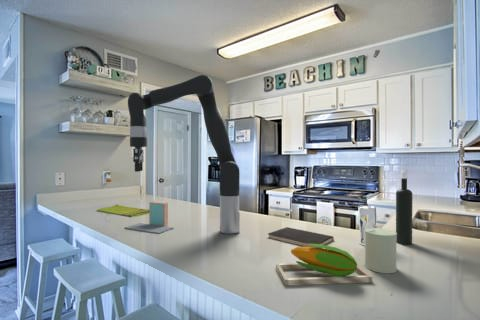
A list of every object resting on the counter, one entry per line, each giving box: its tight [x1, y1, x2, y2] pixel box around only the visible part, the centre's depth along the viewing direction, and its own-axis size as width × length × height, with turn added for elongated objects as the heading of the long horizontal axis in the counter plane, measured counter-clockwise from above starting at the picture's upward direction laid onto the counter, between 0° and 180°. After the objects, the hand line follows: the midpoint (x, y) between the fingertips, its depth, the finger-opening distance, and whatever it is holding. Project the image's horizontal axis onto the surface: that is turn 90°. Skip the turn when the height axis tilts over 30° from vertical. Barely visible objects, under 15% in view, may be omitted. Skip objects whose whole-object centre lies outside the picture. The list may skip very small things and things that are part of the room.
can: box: [363, 227, 398, 274], centre depth 85 cm, size 9×9×12 cm
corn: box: [290, 243, 358, 277], centre depth 80 cm, size 7×8×20 cm
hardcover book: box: [267, 226, 335, 248], centre depth 116 cm, size 16×23×2 cm
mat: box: [124, 222, 174, 235], centre depth 132 cm, size 22×10×1 cm, turn 65°
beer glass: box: [357, 205, 378, 247], centre depth 109 cm, size 7×7×15 cm
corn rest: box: [275, 262, 373, 286], centre depth 80 cm, size 25×11×2 cm, turn 95°
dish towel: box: [96, 204, 149, 218], centre depth 173 cm, size 15×36×3 cm, turn 60°
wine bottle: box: [395, 169, 413, 246], centre depth 110 cm, size 6×6×30 cm
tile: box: [148, 201, 169, 227], centre depth 138 cm, size 10×3×12 cm, turn 65°
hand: (138, 171), depth 126 cm, fingers open, 8 cm apart
